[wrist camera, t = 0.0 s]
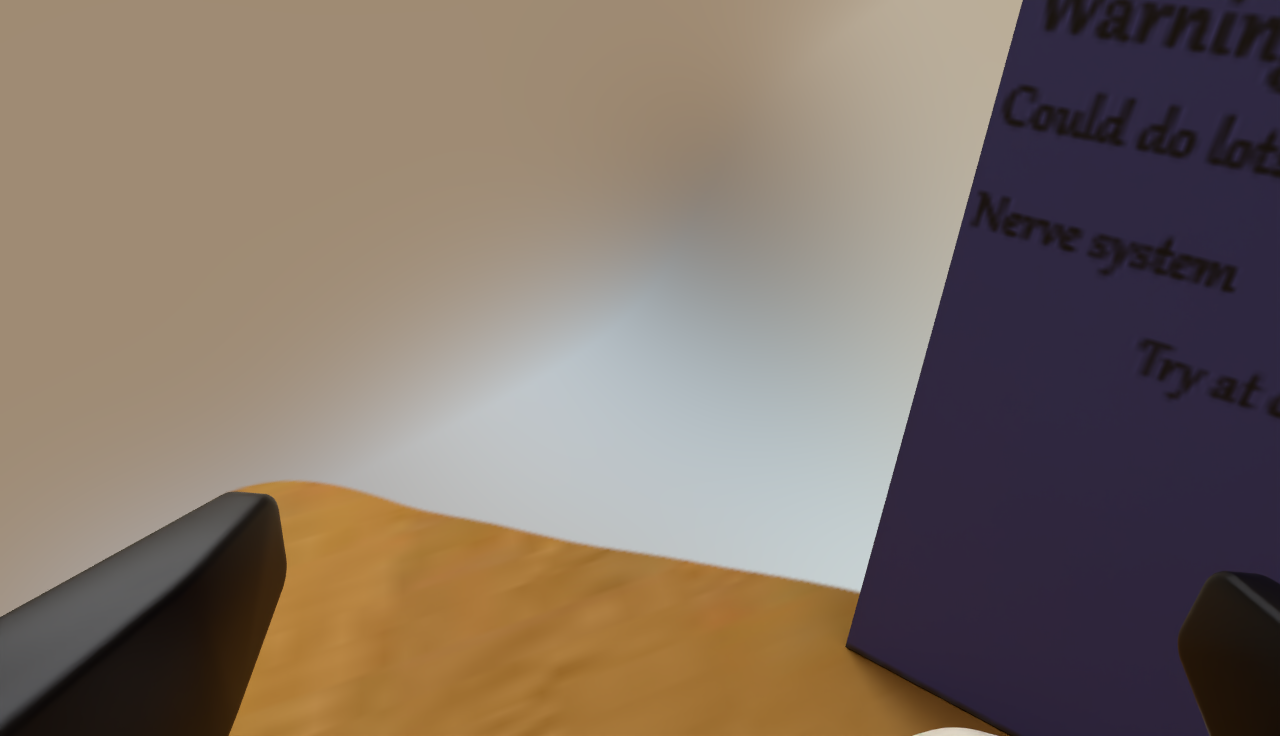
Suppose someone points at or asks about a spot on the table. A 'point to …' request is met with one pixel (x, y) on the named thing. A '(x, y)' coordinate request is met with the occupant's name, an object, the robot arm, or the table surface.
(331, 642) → the table surface
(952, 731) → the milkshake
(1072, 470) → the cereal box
